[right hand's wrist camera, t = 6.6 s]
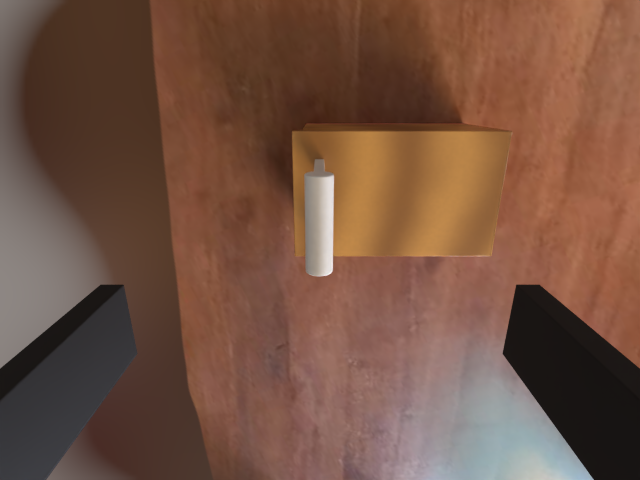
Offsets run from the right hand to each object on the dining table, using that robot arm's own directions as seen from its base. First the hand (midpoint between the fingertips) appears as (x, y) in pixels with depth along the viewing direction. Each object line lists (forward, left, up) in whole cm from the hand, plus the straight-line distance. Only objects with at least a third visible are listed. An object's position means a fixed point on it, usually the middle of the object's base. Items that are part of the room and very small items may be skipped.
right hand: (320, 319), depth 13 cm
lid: (+6, -2, -19) cm, 20 cm away
